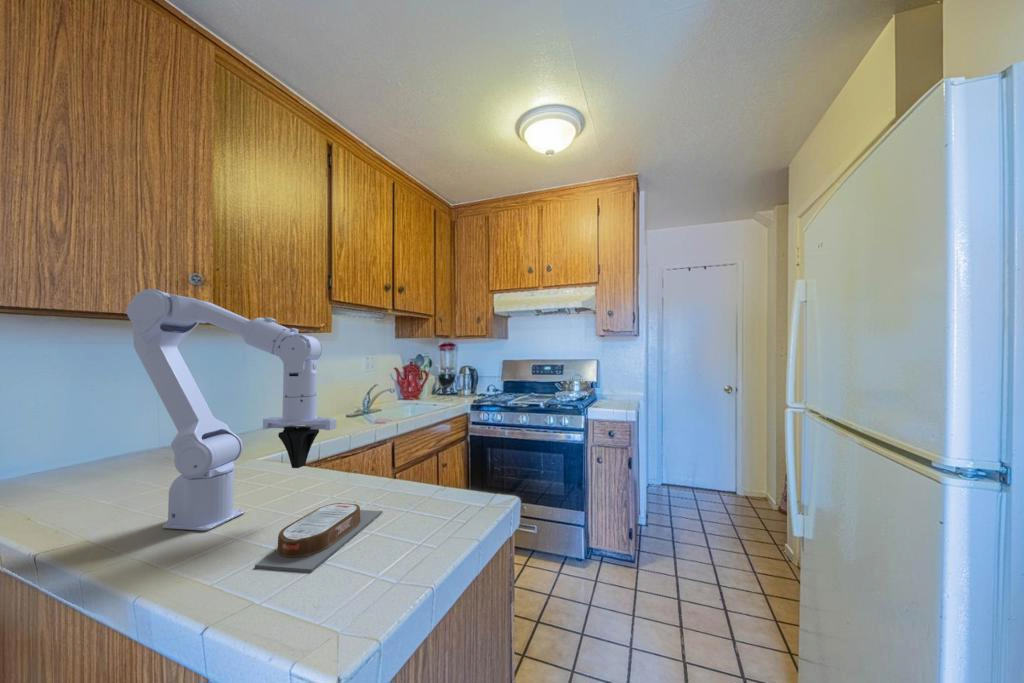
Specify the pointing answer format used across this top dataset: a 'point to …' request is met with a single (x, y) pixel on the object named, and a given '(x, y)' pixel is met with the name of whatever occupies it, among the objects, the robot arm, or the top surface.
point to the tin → (318, 530)
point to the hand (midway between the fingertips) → (298, 466)
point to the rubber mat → (318, 558)
